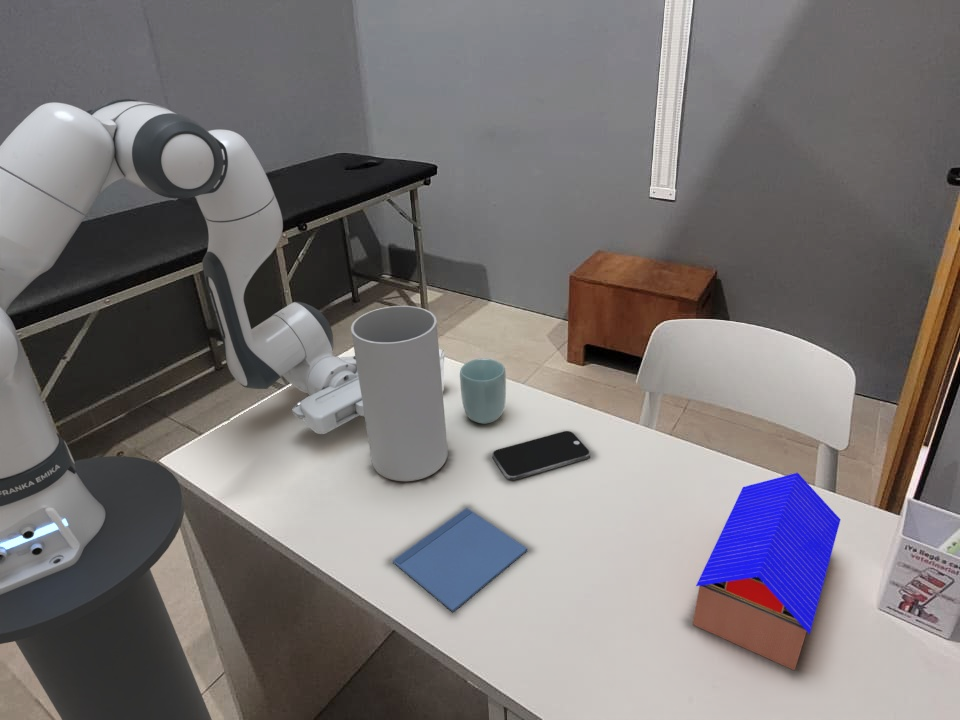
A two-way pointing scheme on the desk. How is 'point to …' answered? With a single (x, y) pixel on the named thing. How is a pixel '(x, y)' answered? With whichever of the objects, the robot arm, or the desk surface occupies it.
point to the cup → (483, 390)
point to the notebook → (459, 558)
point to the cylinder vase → (401, 391)
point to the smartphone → (540, 455)
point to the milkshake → (442, 367)
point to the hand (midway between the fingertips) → (385, 412)
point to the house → (768, 569)
